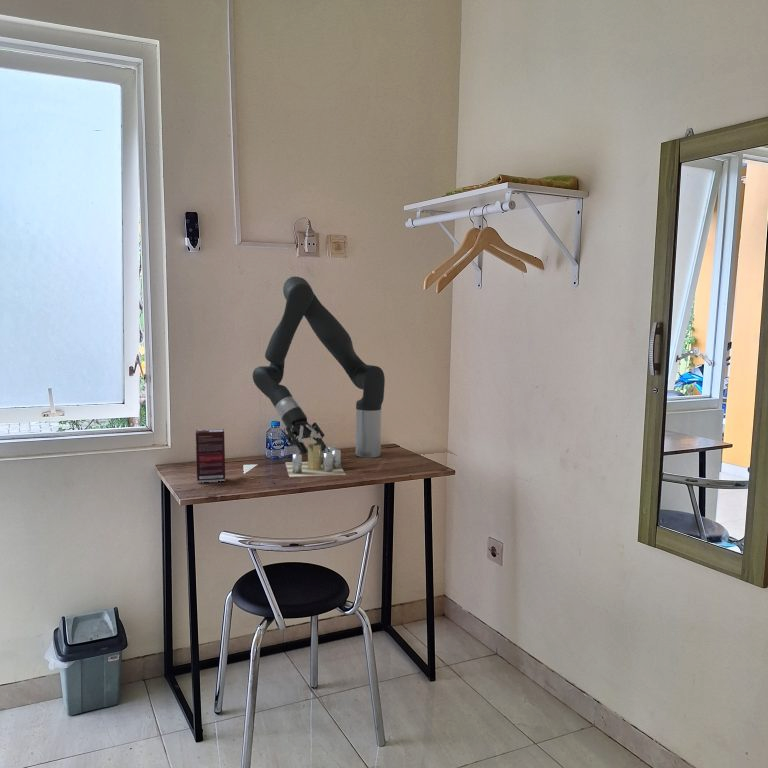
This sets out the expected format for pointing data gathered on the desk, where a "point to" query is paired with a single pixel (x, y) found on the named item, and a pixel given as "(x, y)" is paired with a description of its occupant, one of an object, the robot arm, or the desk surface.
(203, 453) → the supplement box
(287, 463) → the board
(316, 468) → the tan faceted block
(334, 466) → the posts
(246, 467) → the off-white mat
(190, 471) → the desk surface
